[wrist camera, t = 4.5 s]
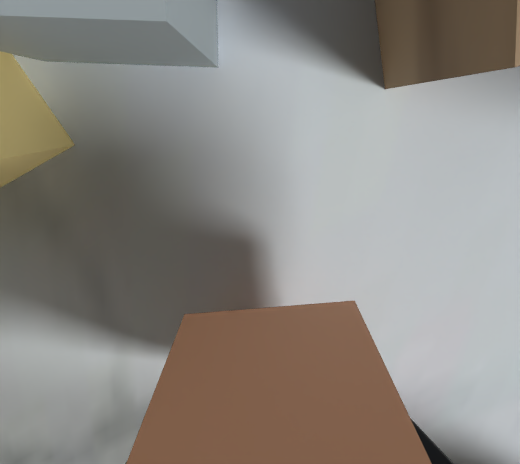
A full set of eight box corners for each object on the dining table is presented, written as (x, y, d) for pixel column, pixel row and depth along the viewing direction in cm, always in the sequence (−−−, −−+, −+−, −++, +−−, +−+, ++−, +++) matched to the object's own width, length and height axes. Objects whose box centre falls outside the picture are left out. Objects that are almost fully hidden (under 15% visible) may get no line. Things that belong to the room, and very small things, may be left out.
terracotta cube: (354, 300, 9) (461, 526, 4) (352, 418, 10) (422, 664, 6) (184, 314, 9) (96, 539, 4) (212, 427, 11) (173, 668, 6)
